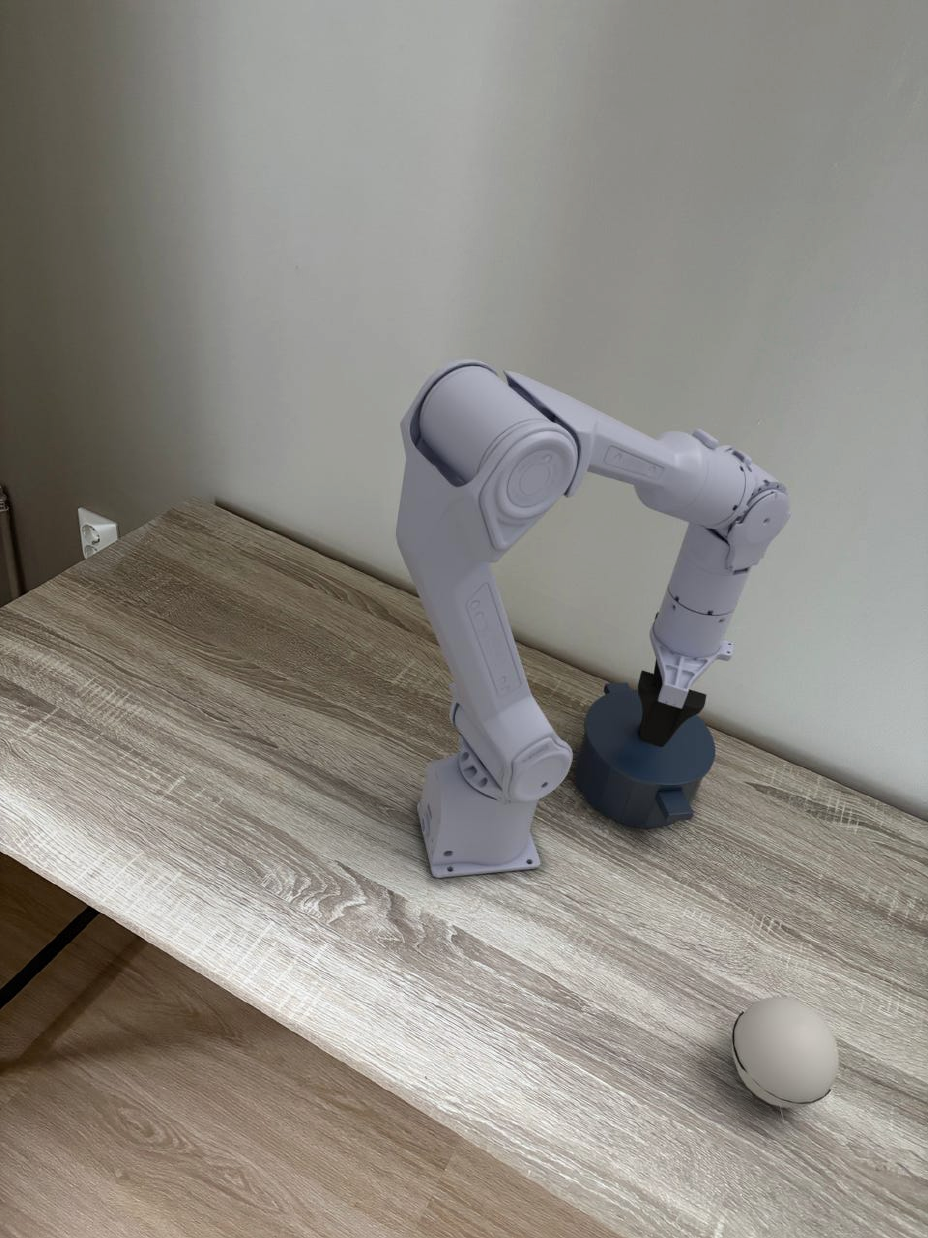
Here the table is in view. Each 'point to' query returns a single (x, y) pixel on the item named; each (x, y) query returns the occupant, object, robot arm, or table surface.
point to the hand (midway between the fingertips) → (658, 713)
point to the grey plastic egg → (785, 1052)
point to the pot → (629, 790)
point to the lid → (646, 744)
